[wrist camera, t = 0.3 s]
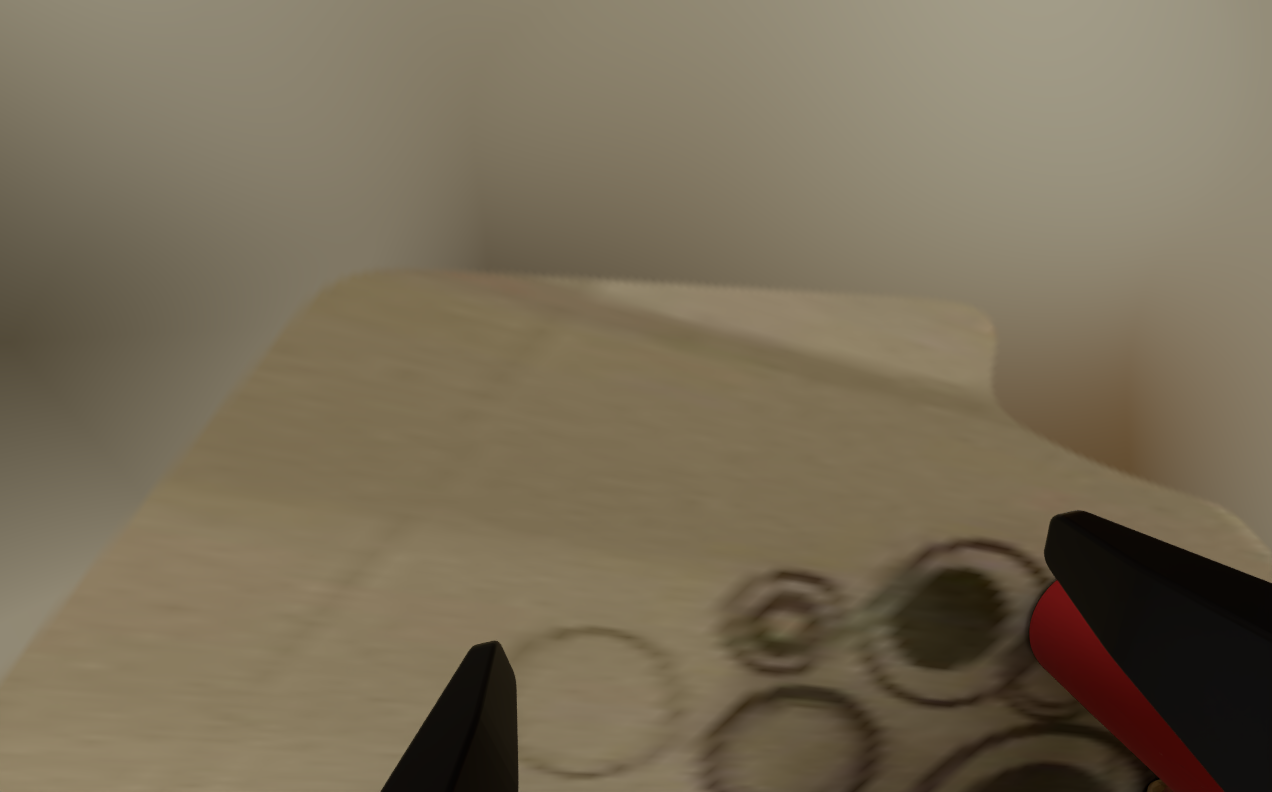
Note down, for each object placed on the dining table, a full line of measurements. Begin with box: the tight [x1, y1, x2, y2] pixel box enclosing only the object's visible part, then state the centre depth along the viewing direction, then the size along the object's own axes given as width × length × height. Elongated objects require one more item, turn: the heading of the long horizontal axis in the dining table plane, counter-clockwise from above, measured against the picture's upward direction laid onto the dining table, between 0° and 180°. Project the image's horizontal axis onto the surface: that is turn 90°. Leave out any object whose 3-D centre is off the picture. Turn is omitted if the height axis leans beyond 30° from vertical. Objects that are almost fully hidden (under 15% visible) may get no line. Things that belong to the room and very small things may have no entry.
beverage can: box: [1029, 580, 1224, 792], centre depth 22 cm, size 7×7×12 cm
